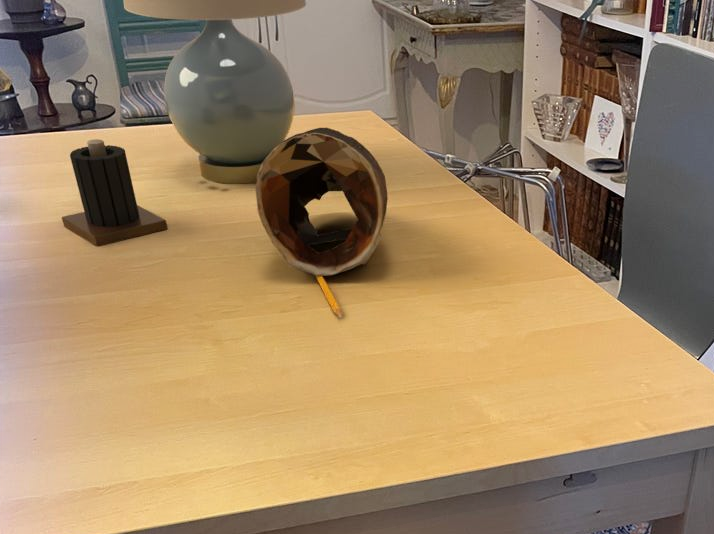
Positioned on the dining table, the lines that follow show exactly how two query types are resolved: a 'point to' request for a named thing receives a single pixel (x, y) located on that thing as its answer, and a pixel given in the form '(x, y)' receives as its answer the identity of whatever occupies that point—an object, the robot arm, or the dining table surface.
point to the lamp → (226, 86)
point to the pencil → (329, 295)
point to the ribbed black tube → (105, 186)
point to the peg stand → (120, 232)
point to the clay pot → (311, 181)
